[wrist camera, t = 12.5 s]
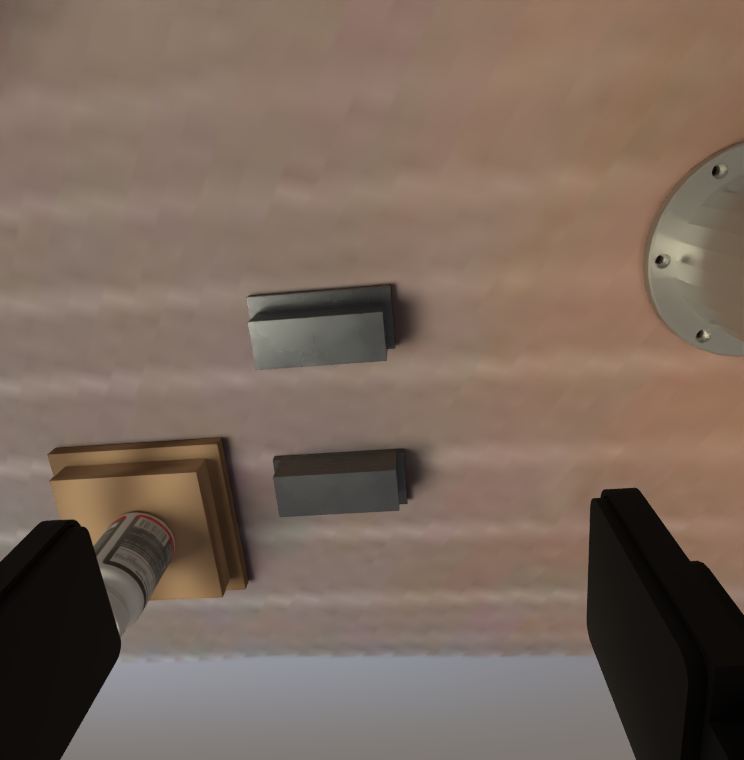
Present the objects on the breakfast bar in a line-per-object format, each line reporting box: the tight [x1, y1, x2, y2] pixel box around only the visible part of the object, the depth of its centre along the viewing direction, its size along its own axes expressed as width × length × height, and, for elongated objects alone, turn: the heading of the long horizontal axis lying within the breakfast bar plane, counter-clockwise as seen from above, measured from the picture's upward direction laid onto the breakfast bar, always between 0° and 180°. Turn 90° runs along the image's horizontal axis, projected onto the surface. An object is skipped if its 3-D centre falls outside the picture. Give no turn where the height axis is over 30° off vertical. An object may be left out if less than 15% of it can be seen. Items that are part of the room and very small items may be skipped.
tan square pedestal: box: [48, 438, 249, 601], centre depth 43 cm, size 12×12×3 cm
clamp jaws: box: [247, 284, 408, 517], centre depth 39 cm, size 9×15×3 cm, turn 5°
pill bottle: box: [93, 512, 175, 638], centre depth 37 cm, size 5×5×8 cm
